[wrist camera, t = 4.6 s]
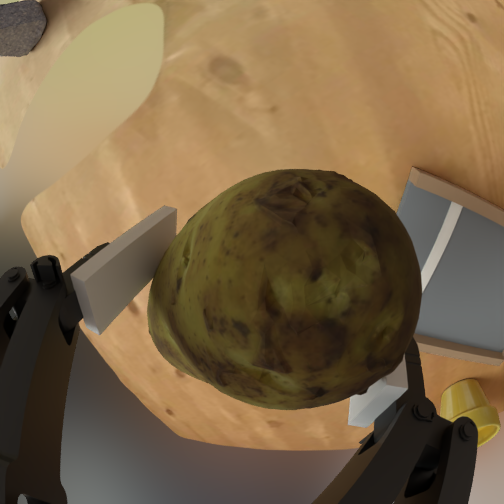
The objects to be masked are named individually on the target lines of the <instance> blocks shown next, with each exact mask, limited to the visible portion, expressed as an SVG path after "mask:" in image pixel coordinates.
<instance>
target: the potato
mask: <svg viewBox="0 0 504 504" xmlns="http://www.w3.org/2000/svg"><path fill="white" fill-rule="evenodd" d="M421 299H422V279H421V270H420V266H419V262H418V259H417V255H416V252H415V249H414V245H413V242H412V240H411V238H410V236H409V234H408V232H407V230H406V228H405V226H404V225H403V223H402V222H401V220H400V219H399V217H398V216H397V214H396V213H395V211H394V210H392V209H391V208H390V207H389V206H388V205H387V204H386V203H385V202H384V201H382V200H381V199H380V198H379V197H378V196H377V195H376V194H374V193H373V192H371V191H370V190H368V189H366V188H364V187H363V186H361V185H359V184H357V183H355V182H353V181H352V180H350V179H348V178H347V177H345V176H344V175H341V174H338V173H336V172H335V171H322V170H307V169H286V170H276V171H271V172H265V173H262V174H258V175H255V176H253V177H250V178H248V179H245V180H243V181H241V182H239V183H237V184H235V185H234V186H232V187H230V188H229V189H227V190H226V191H224V192H222V193H221V194H220V195H218V196H217V197H216V198H214V199H213V200H212V201H210V202H209V203H208V204H206V205H205V206H204V207H203V208H201V209H200V210H199V211H198V212H197V213H196V214H195V215H194V216H193V217H191V218H190V219H189V220H188V222H187V223H186V225H185V226H184V227H183V229H182V230H181V231H180V233H179V234H178V235H177V236H176V237H175V238H174V239H173V241H172V242H171V244H170V245H169V247H168V248H167V250H166V251H165V252H164V255H163V257H162V259H161V260H160V263H159V265H158V267H157V269H156V271H155V274H154V278H153V281H152V284H151V288H150V293H149V300H148V308H147V316H148V325H149V333H150V335H151V337H152V340H153V342H154V344H155V346H156V347H157V349H158V351H159V352H160V354H161V355H162V356H163V357H164V358H165V359H166V360H167V361H168V362H169V363H170V364H171V365H173V366H174V367H176V368H177V369H179V370H180V371H182V372H184V373H186V374H188V375H190V376H192V377H194V378H197V379H199V380H202V381H204V382H206V383H209V384H211V385H212V386H214V387H215V388H216V389H218V390H219V391H220V392H222V393H224V394H226V395H228V396H230V397H233V398H235V399H237V400H240V401H242V402H245V403H248V404H251V405H255V406H258V407H263V408H268V409H279V410H297V409H304V408H314V407H319V406H324V405H328V404H332V403H336V402H339V401H342V400H344V399H347V398H349V397H351V396H354V395H362V394H365V393H367V391H368V389H369V387H370V386H371V385H373V384H374V383H376V382H377V381H378V380H380V379H381V378H383V377H385V376H387V375H389V374H391V373H392V372H393V371H395V369H396V368H397V367H398V366H399V364H400V363H401V362H402V361H403V357H404V353H405V352H406V350H407V348H408V346H409V344H410V341H411V339H412V337H413V335H414V333H415V330H416V326H417V323H418V319H419V314H420V307H421Z"/></svg>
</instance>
